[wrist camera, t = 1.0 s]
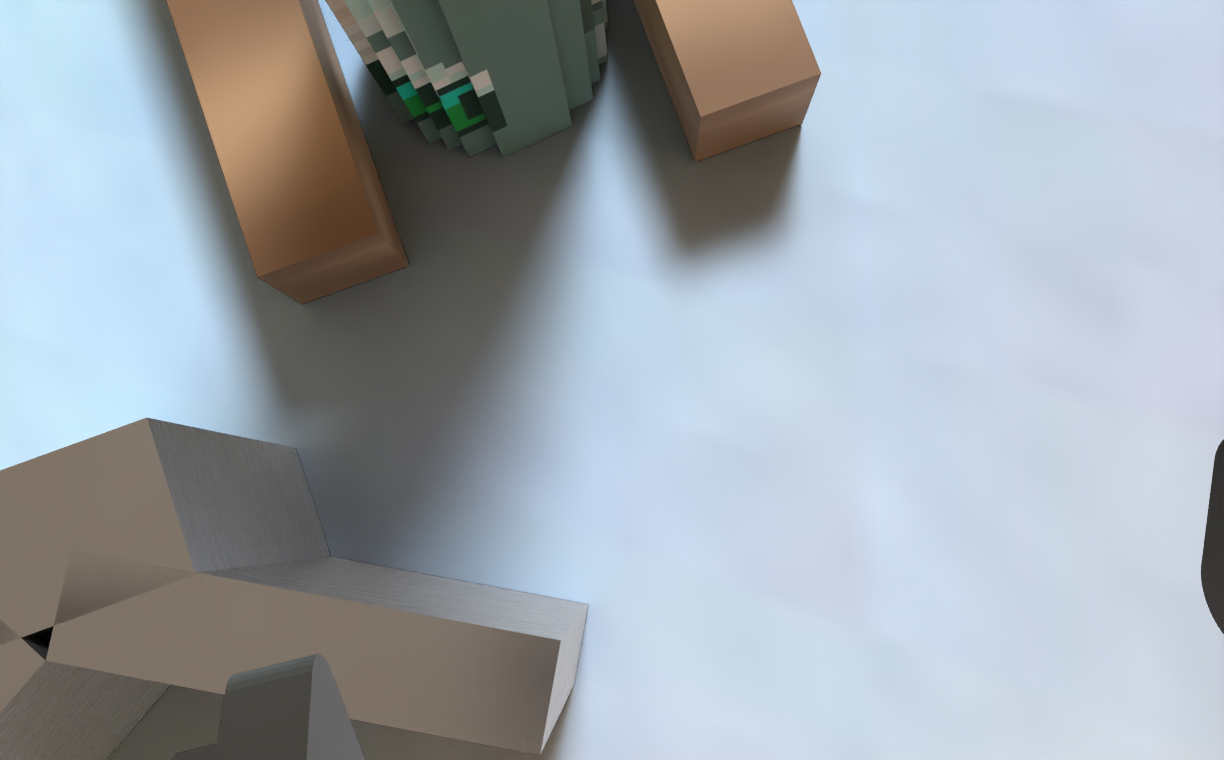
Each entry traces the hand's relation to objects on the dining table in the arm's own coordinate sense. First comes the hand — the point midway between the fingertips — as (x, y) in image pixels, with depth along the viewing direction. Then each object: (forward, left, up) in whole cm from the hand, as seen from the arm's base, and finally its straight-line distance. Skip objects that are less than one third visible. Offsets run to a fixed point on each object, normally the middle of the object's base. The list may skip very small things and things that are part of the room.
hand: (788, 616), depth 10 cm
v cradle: (+7, -10, -19) cm, 23 cm away
